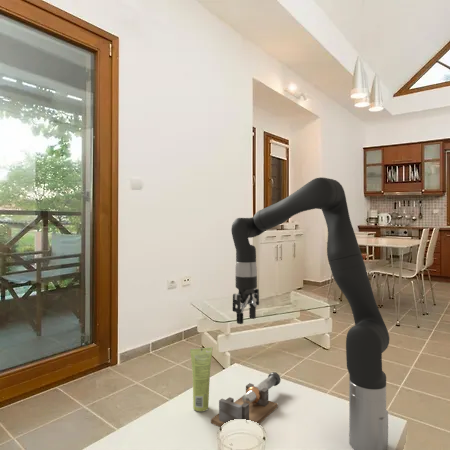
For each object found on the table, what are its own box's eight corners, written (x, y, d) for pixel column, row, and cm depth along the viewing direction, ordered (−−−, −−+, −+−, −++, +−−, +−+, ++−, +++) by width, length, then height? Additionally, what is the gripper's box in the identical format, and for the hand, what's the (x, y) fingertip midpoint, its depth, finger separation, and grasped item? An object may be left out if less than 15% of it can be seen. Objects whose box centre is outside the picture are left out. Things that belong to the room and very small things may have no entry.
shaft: (281, 386, 125) (281, 373, 125) (253, 409, 110) (253, 394, 110) (269, 383, 128) (269, 370, 128) (240, 405, 112) (240, 390, 112)
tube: (200, 402, 118) (200, 344, 118) (212, 406, 116) (212, 346, 116) (189, 409, 114) (190, 349, 114) (202, 414, 111) (202, 352, 111)
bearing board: (277, 407, 115) (277, 385, 115) (244, 437, 99) (244, 411, 99) (246, 396, 122) (246, 376, 122) (211, 423, 106) (211, 399, 106)
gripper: (244, 277, 116) (245, 327, 116) (265, 273, 128) (265, 318, 127) (225, 276, 120) (226, 324, 120) (247, 271, 132) (247, 315, 132)
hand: (246, 320), depth 124 cm, fingers open, 8 cm apart
